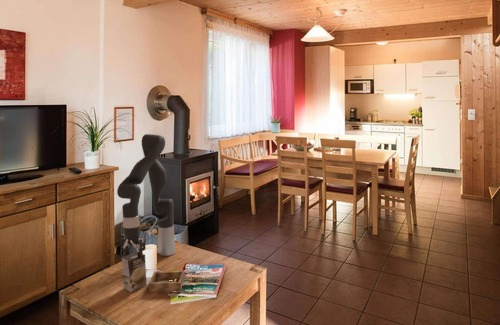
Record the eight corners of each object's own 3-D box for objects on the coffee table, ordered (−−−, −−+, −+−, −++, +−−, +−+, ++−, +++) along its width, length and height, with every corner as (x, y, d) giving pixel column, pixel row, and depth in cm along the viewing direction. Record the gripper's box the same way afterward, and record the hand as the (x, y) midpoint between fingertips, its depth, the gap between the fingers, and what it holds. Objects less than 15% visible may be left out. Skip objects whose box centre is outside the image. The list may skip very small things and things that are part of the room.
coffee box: (131, 292, 175) (128, 261, 172) (123, 288, 179) (121, 257, 176) (147, 285, 182) (145, 254, 179) (139, 281, 186) (137, 251, 183)
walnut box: (149, 293, 174) (148, 283, 173) (155, 280, 186) (154, 271, 185) (180, 292, 175) (180, 282, 174) (184, 280, 186) (184, 271, 186)
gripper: (114, 224, 175) (116, 257, 178) (136, 229, 168) (138, 262, 171) (126, 220, 182) (128, 251, 184) (148, 224, 175) (150, 256, 178)
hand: (133, 256), depth 178 cm, fingers open, 8 cm apart
